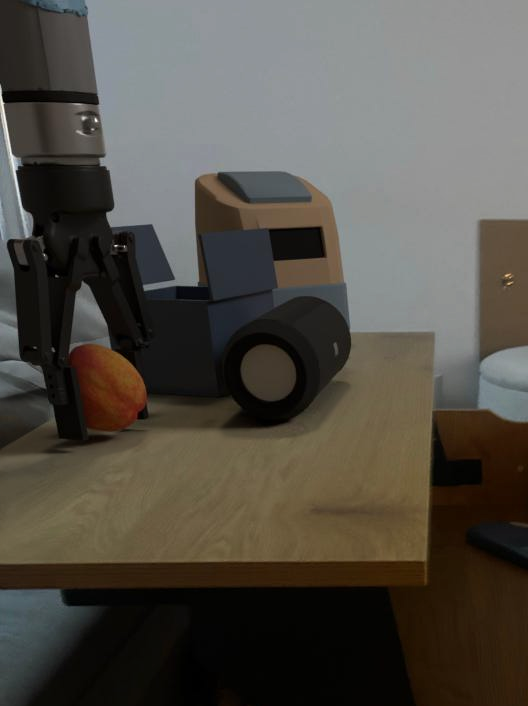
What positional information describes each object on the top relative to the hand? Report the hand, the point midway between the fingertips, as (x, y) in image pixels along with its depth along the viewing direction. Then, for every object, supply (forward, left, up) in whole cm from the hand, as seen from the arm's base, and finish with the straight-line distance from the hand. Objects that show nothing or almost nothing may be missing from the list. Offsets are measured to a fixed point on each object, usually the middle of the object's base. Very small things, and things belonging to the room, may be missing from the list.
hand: (105, 427), depth 94 cm
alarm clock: (-9, +47, -1) cm, 48 cm away
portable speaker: (+9, +21, -1) cm, 23 cm away
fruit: (0, 0, 0) cm, 1 cm away
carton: (-8, +27, -1) cm, 28 cm away
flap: (-16, +27, +13) cm, 34 cm away
